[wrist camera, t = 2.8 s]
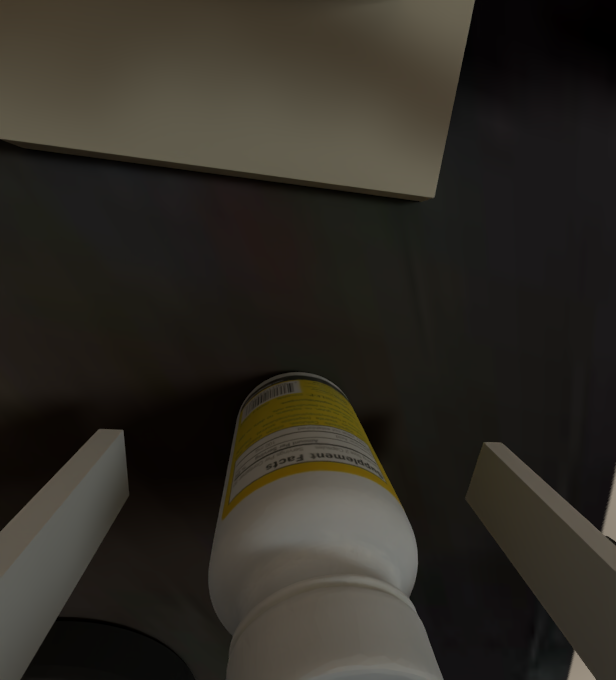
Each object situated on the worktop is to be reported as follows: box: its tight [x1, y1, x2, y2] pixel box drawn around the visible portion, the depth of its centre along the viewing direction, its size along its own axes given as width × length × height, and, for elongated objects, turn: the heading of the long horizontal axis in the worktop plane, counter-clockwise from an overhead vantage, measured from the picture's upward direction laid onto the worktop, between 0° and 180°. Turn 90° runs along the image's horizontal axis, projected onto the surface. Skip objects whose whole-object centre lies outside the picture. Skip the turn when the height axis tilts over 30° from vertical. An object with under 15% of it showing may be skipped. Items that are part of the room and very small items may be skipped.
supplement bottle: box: [208, 372, 443, 680], centre depth 10 cm, size 5×5×10 cm
